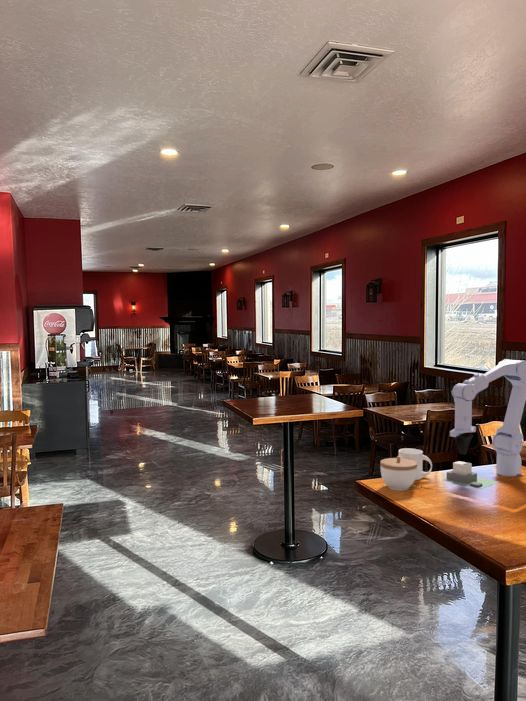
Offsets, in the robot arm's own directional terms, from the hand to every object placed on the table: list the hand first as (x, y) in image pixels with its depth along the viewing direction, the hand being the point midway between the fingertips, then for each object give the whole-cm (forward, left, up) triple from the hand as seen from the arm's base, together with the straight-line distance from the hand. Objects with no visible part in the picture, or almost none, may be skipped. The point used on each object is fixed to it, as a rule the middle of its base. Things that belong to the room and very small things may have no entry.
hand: (462, 453), depth 202 cm
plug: (-2, 0, -9) cm, 10 cm away
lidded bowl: (+23, -11, -11) cm, 28 cm away
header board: (-1, +3, -10) cm, 11 cm away
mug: (+10, -13, -11) cm, 20 cm away
